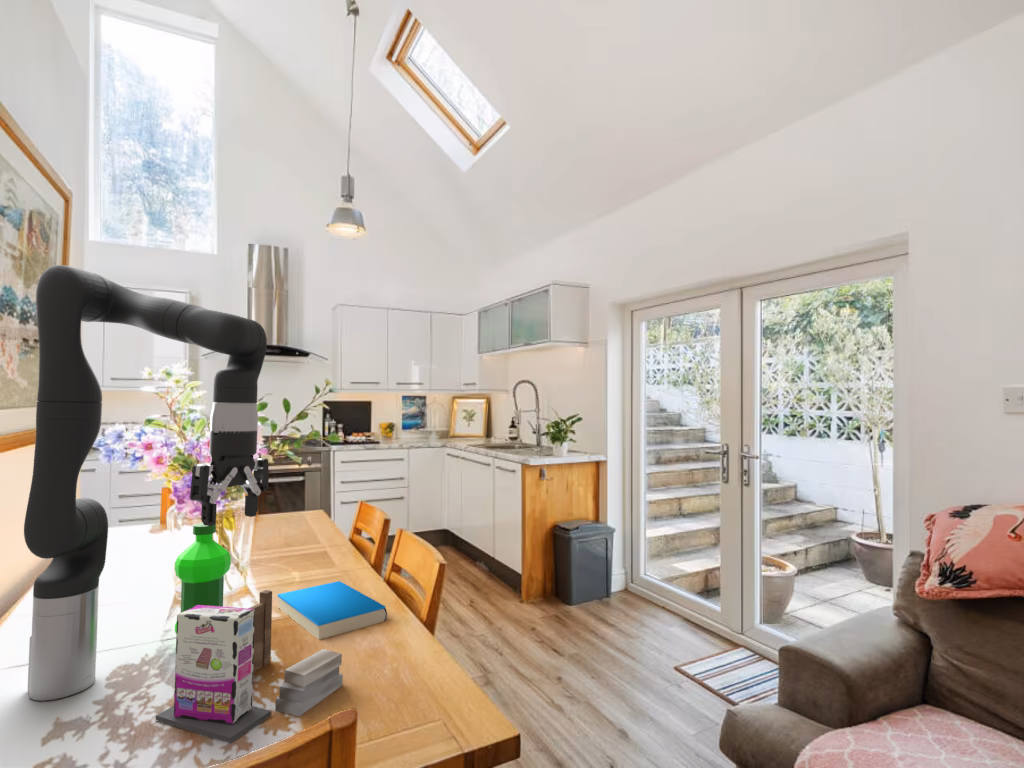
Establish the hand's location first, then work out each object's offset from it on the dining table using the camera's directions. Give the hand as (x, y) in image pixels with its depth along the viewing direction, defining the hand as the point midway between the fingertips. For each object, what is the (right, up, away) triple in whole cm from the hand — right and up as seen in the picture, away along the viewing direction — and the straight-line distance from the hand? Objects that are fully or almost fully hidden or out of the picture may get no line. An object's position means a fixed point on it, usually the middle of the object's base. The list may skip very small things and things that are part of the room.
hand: (230, 520), depth 97 cm
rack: (-1, -31, +5) cm, 31 cm away
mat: (+1, -30, -8) cm, 31 cm away
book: (+5, -33, +37) cm, 50 cm away
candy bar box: (+1, -30, -8) cm, 31 cm away
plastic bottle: (-17, -31, +21) cm, 41 cm away
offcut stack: (+14, -31, -1) cm, 34 cm away
